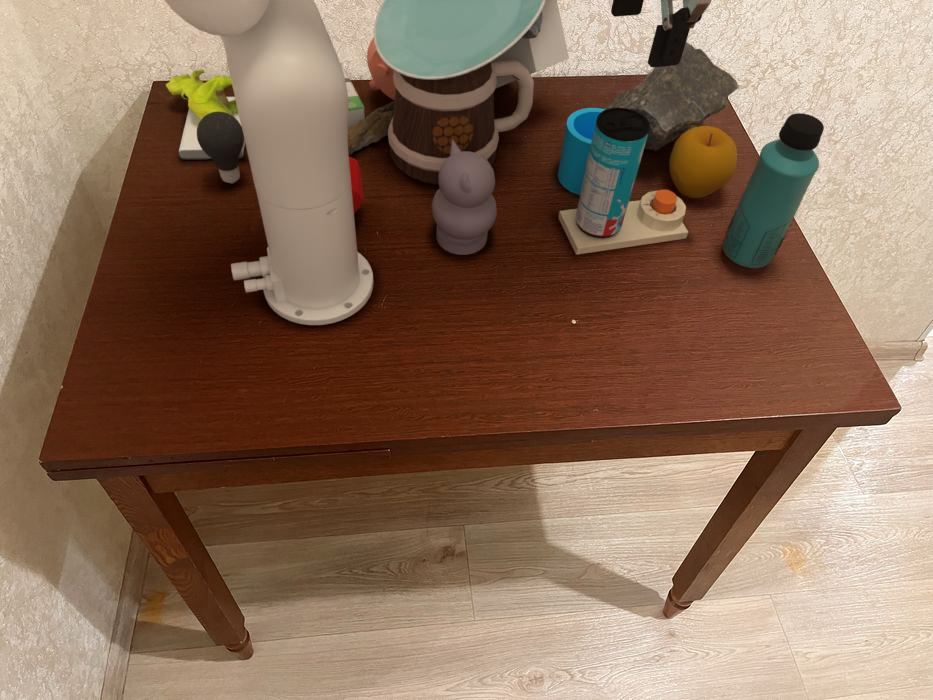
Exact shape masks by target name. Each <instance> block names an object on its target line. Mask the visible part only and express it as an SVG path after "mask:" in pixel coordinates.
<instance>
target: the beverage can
mask: <svg viewBox="0 0 933 700" xmlns="http://www.w3.org/2000/svg"><path fill="white" fill-rule="evenodd" d="M649 129H650V124H649V122H648V120H647V119H646V118H645V117H644V116H643V115H642V114H640V113H638V112H636V111H634V110H631V109H627V108H610V109H606V110H604V111H602V112H601V113H600V114H599V115H598V116H597V120H596V125H595V129H594V134H593V138H592V142H591V147H590V152H589V156H588V161H587V166H586V170H585V175H584V180H583V184H582V189H581V194H580V195H579V199H578V202H577V203H578V204H577V207H576V209H577V213H576V222H577V226H578V227H579V229H580V230H581V231H582V232H583V233H585V234H586V235H589V236H591V237H594V238H609V237H611V236H613V235H615V234H617V232H618V231H619V230H620V229H621V227H622V225H623V221H624V217H625V214H626V210H627V207H628V203H629V202H630V200H631V196H632V192H633V189H634V185H635V182H636V178H637V176H638V172H639V169H640V164H641V161H642V157H643V154H644V151H645V149H644V147H645V143H646V140H647V136H648V132H649Z"/></svg>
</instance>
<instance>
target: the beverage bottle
mask: <svg viewBox="0 0 933 700" xmlns="http://www.w3.org/2000/svg"><path fill="white" fill-rule="evenodd" d="M824 130H825V127H824V124H823V121H821V120H820V119H819V118H817V117H816V116H814V115H811V114H807V113H804V112H803V113H802V112H801V113H800V112H797V113H793V114H791V115H789V116H787V118H786V119H785V122H784V123H783V125H782V127H781V129H779V132H778V139H775V140H772V141H769V142H767V143H766V144H765V145H763V147H762V148H761V150H760V152H759V157H758V158H757V161H756V162H755V166H754V168H753V170H752V172H751V175H750V177H749V180H748V181H747V183H746V184H745V186H744V187H745V189H744V190H743V191H742V194H741V195H740V198H739V200H738V201H739V202H738V204H737V207H736V209H735V210H734V213H733V215H732V216H731V219H730V221H729V224H728V226H727V228H726V231H725V235H724V238H723V242H722V245H723V247H722V248H723V252H724V254H725V255H726V257H727V258H728V259H730V261H732V262H734V263H735V264H736V265H739V266H741V267H745V268H750V269H759V268H763V267H765V266H767V265H768V264H769V263H771V262H772V261H773V260H774V258H775V257H776V256H777V253H778V252H779V250H780V248H781V246H782V244H783V242H784V240H785V238H786V236H787V235H788V232H789V229H790V227H791V225H792V223H793V222H794V220H795V218H796V216H797V213H798V211H799V209H800V208H801V206H802V202H803V198H804V196H805V195H806V193H807V190H808V188H809V186H810V184H811V182H812V180H813V179H814V177H815V174H816V173H817V172H818V170H819V167H820V159H819V158H818V156H817V154H816V151H814V150H815V149H816V148H817V147H818V146H819V144H820V142H821V138H822V135H823V133H824ZM800 205H801V206H800Z"/></svg>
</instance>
